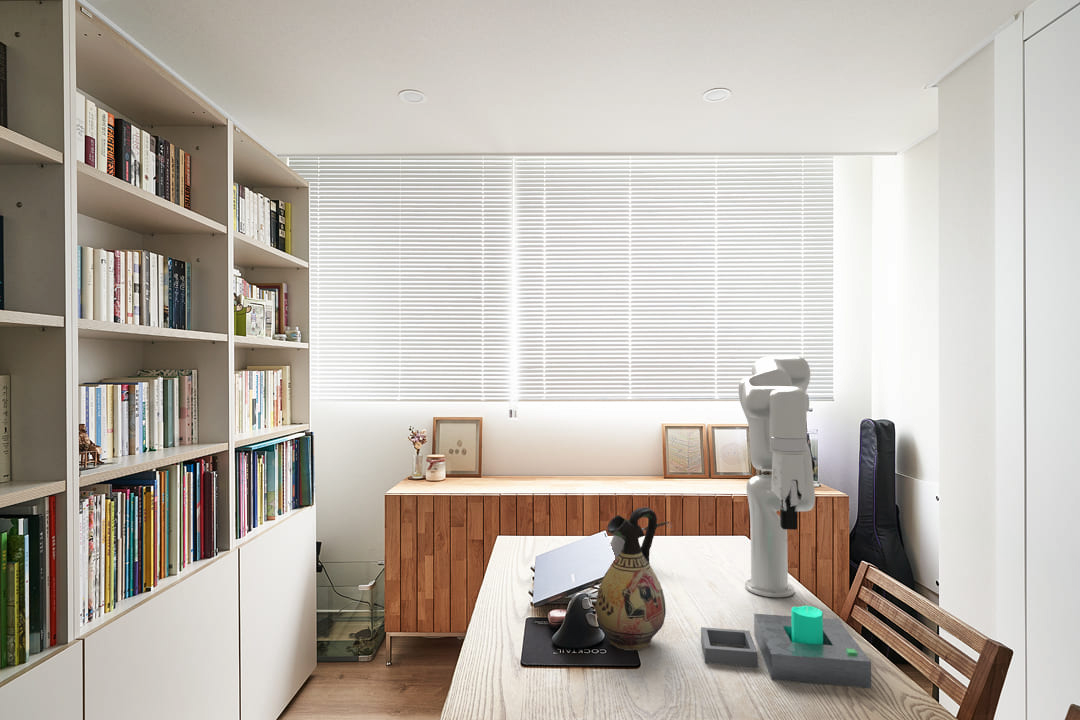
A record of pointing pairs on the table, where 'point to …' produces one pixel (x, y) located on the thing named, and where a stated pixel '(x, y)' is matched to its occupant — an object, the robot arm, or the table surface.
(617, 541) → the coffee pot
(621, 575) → the ceramic jug
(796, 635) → the candle
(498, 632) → the table surface
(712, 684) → the table surface
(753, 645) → the grey square tray
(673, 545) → the table surface
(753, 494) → the robot arm
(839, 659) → the port block
